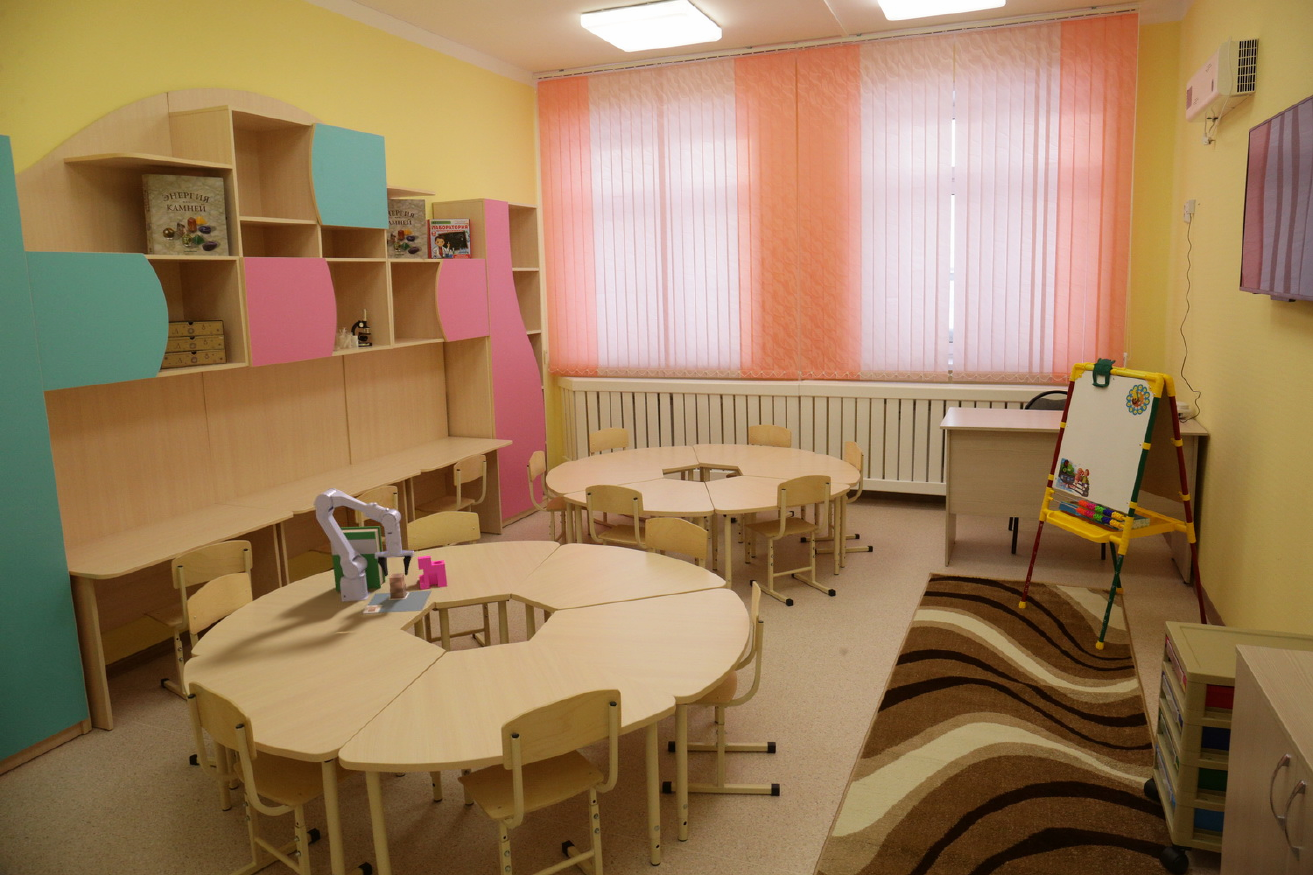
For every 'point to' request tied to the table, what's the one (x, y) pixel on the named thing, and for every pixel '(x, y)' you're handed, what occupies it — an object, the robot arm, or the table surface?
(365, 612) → the mat
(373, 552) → the hardback book
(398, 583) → the terracotta block
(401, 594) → the walnut block
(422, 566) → the bracket
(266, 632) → the table surface
